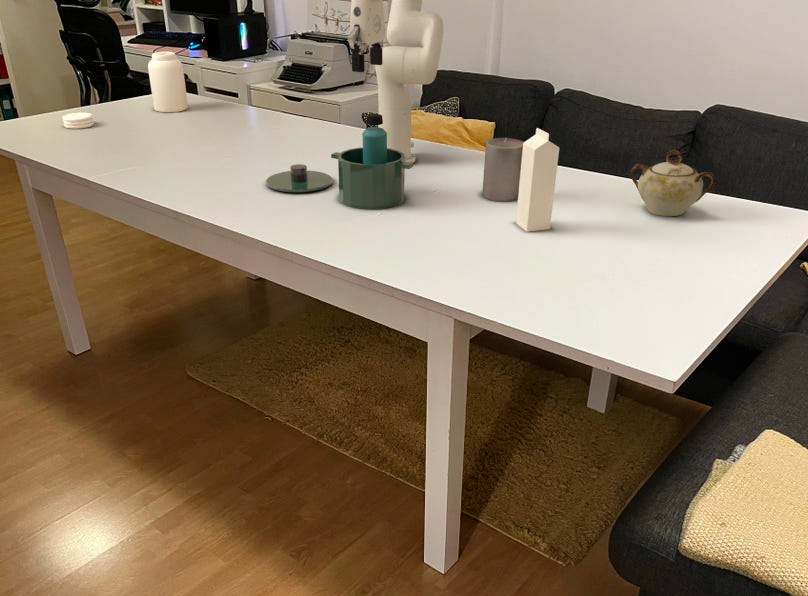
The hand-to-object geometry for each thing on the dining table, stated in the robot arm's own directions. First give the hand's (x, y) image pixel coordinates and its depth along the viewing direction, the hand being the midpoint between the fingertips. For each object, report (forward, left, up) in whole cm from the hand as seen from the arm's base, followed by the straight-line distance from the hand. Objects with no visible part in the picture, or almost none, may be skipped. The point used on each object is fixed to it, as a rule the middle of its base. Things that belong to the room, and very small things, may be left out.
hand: (367, 68), depth 184 cm
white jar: (-52, -111, -30) cm, 126 cm away
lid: (+5, -18, -30) cm, 35 cm away
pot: (+7, +5, -30) cm, 31 cm away
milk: (+8, +48, -30) cm, 57 cm away
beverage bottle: (+5, +5, -30) cm, 31 cm away
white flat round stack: (-17, -122, -31) cm, 127 cm away
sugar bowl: (-17, +74, -31) cm, 81 cm away
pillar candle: (-10, +34, -30) cm, 46 cm away
